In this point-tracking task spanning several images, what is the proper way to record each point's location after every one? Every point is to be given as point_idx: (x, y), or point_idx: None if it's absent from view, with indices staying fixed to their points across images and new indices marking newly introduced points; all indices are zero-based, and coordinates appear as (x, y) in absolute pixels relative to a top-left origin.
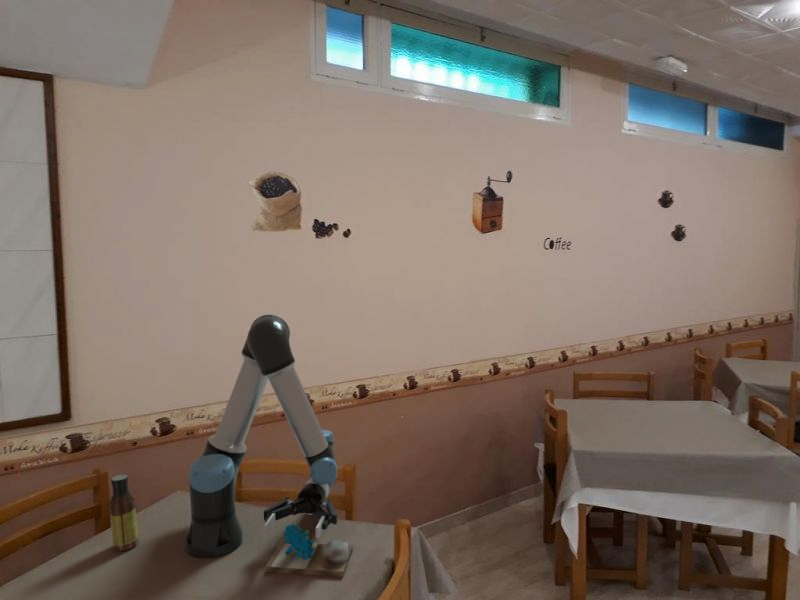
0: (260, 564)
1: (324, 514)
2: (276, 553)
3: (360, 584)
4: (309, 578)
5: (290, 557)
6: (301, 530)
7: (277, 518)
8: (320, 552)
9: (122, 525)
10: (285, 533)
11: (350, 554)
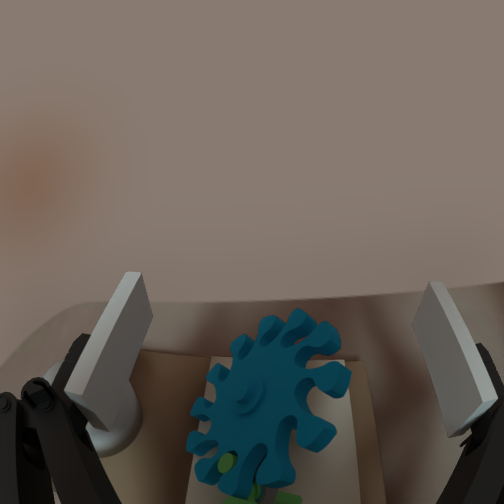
0: (399, 408)
1: (63, 421)
2: (365, 440)
3: (64, 326)
4: (199, 355)
5: None
6: (262, 464)
7: (460, 461)
8: (163, 458)
9: None
10: (323, 325)
11: None
